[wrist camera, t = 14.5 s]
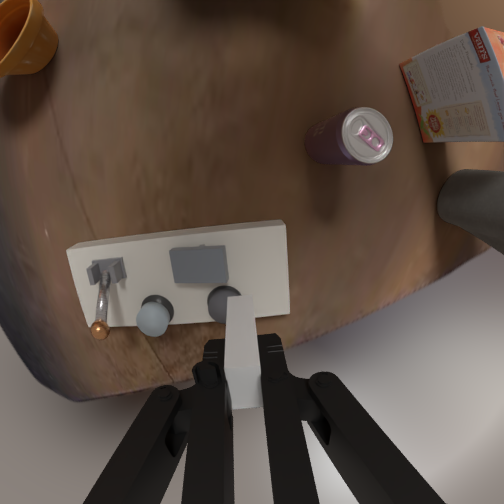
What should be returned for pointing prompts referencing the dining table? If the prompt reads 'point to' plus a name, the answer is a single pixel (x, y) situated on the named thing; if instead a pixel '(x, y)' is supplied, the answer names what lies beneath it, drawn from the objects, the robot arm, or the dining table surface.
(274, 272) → the console
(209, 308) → the button
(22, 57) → the flower pot
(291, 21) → the dining table surface
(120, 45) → the dining table surface
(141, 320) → the button
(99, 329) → the lever
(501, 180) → the vase
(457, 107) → the cracker box
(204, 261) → the block
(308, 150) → the beverage can
